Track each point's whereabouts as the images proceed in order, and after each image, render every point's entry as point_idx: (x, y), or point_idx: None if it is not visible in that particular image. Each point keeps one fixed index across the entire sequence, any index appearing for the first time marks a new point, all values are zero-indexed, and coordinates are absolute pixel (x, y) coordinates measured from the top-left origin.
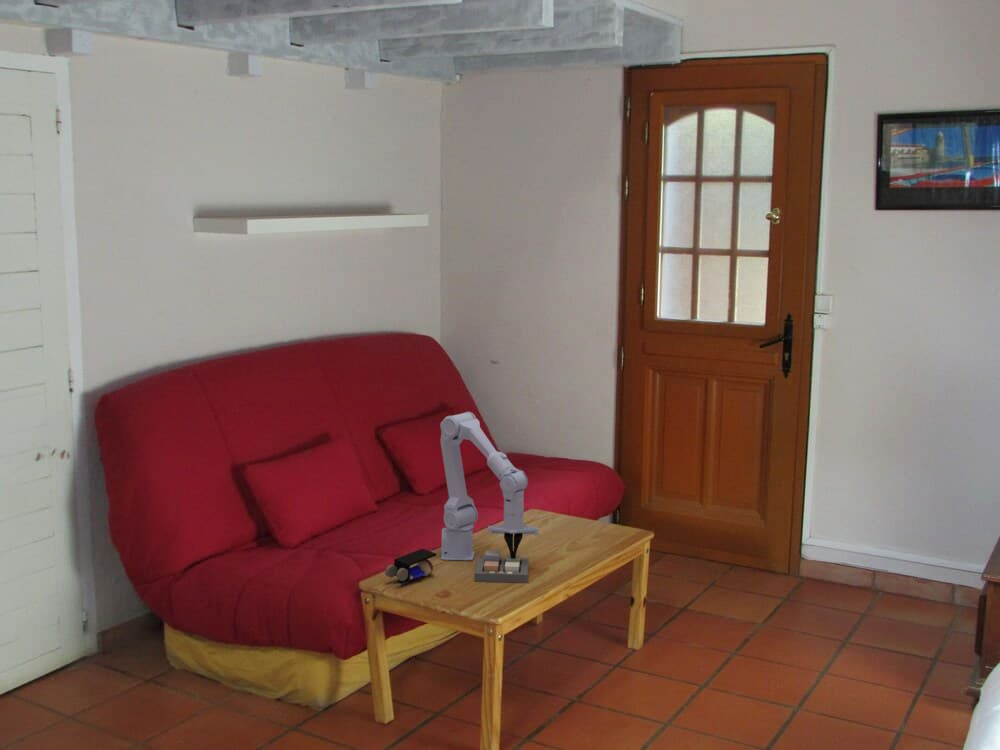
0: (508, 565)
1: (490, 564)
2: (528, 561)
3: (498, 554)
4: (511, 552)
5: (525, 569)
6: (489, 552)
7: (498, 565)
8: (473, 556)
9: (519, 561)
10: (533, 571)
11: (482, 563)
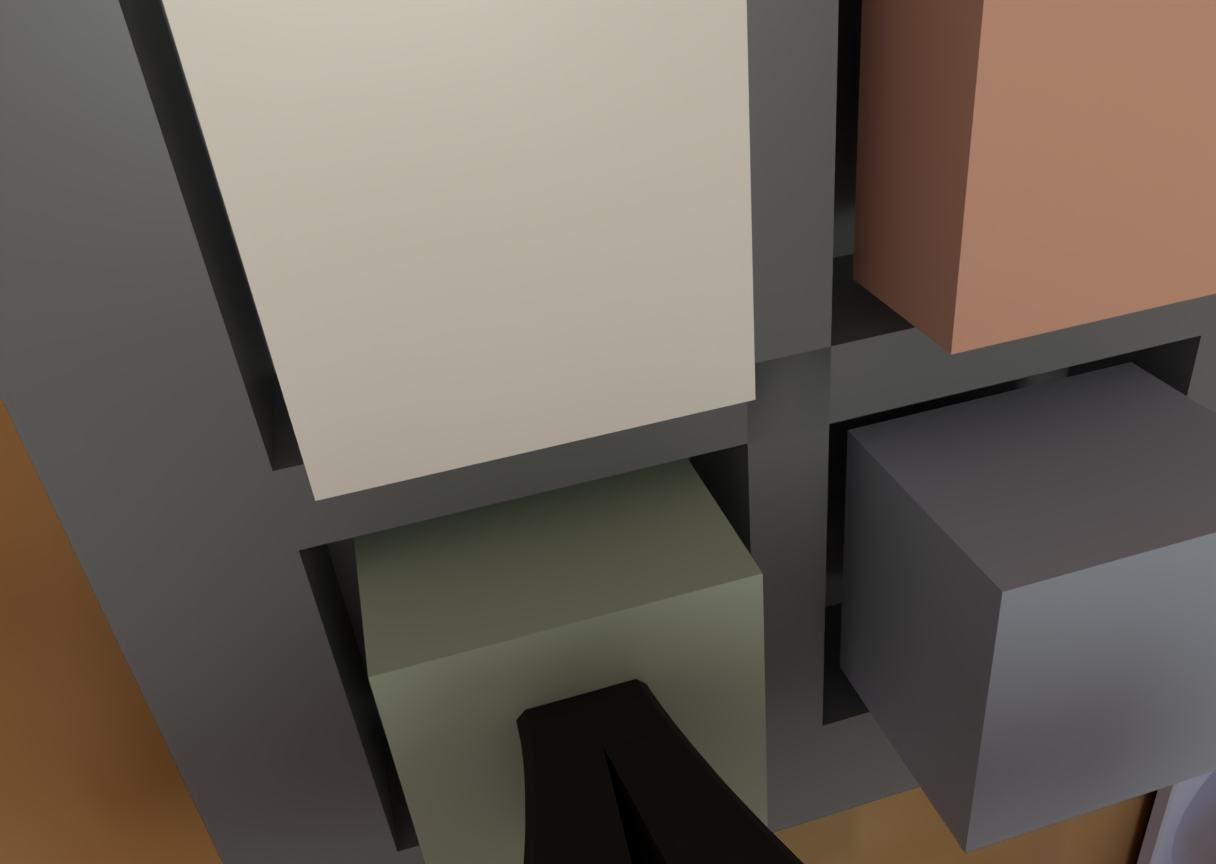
0: (620, 59)
1: (1206, 27)
2: (215, 845)
3: (1014, 657)
4: (683, 808)
5: (34, 281)
6: (1208, 700)
7: (909, 242)
8: (1156, 811)
9: (369, 641)
10: (64, 643)
11: (1210, 395)
